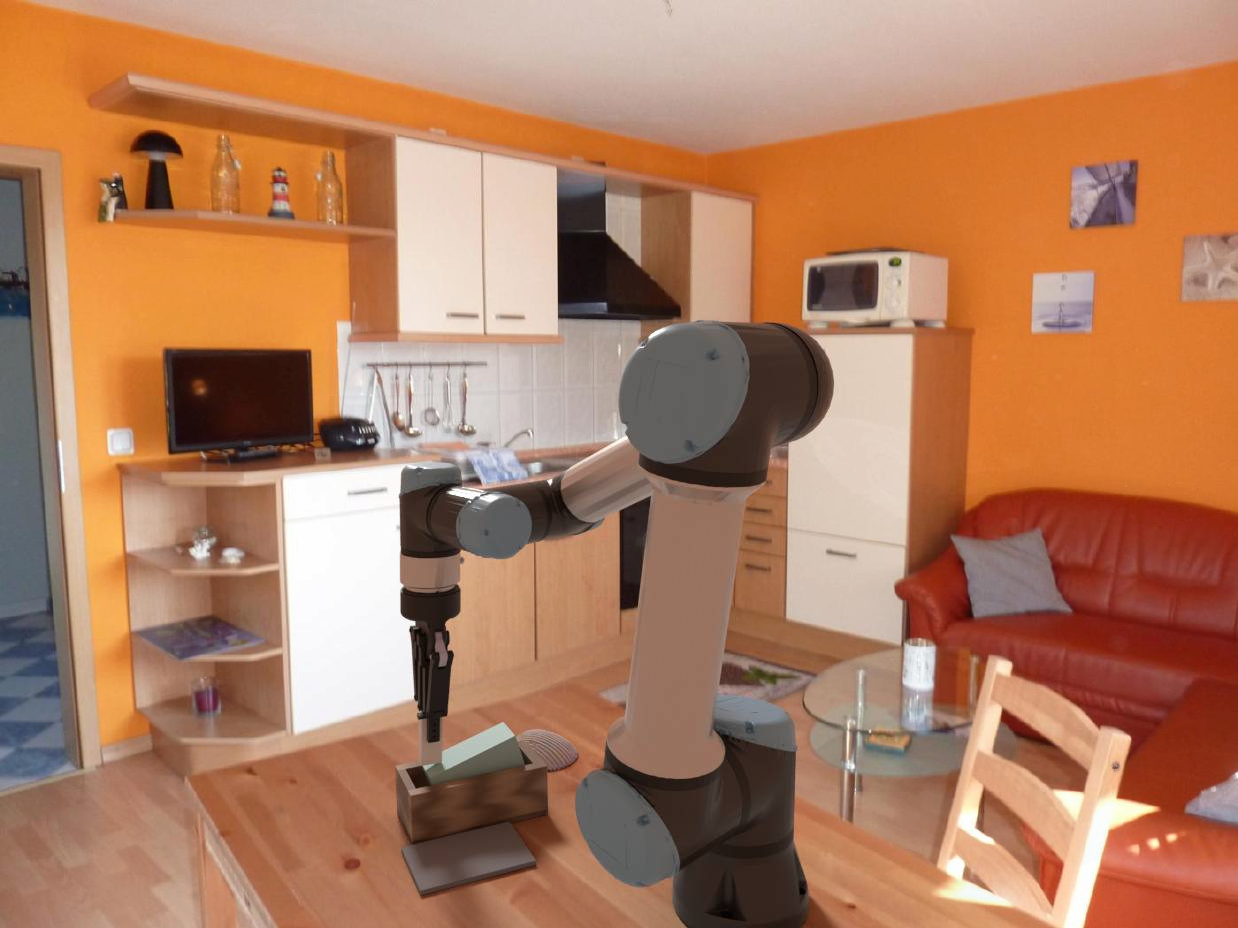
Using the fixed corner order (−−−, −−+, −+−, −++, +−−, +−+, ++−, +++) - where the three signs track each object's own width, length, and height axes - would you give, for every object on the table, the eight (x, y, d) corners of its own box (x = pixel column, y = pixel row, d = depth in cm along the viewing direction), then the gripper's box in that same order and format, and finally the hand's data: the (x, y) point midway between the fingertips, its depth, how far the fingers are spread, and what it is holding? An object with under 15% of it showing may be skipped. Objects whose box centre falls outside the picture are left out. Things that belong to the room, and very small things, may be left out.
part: (513, 752, 127) (503, 721, 126) (526, 767, 123) (515, 735, 121) (432, 793, 123) (420, 761, 122) (441, 810, 118) (429, 777, 117)
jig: (525, 784, 131) (524, 739, 130) (548, 814, 123) (547, 765, 122) (397, 813, 123) (395, 765, 122) (412, 846, 115) (410, 795, 114)
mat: (536, 864, 111) (535, 860, 111) (420, 895, 105) (420, 890, 105) (509, 825, 120) (509, 821, 120) (401, 851, 114) (401, 847, 114)
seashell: (510, 723, 145) (572, 710, 145) (518, 756, 145) (580, 742, 145) (502, 751, 135) (568, 736, 134) (510, 785, 135) (577, 771, 135)
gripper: (474, 595, 112) (473, 778, 115) (446, 570, 124) (445, 737, 127) (413, 601, 109) (413, 789, 112) (389, 575, 121) (390, 746, 124)
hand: (430, 761), depth 120 cm, fingers closed
